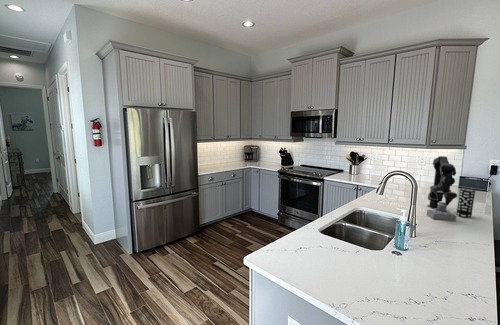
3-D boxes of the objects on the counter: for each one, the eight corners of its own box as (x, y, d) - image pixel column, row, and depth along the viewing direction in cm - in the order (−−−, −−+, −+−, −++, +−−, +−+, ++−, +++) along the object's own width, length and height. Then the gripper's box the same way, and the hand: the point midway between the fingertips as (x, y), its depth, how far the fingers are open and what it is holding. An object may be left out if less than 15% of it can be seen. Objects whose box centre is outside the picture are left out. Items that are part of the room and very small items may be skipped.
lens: (443, 211, 174) (444, 202, 173) (447, 214, 169) (448, 204, 168) (435, 211, 175) (436, 201, 174) (439, 213, 170) (440, 203, 169)
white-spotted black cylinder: (474, 218, 172) (478, 191, 169) (462, 218, 172) (466, 191, 169) (464, 214, 180) (468, 188, 177) (453, 214, 180) (456, 188, 178)
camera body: (426, 214, 178) (427, 207, 177) (447, 216, 175) (448, 209, 175) (433, 219, 169) (434, 211, 168) (455, 221, 166) (456, 213, 166)
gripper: (425, 179, 179) (423, 199, 181) (440, 184, 161) (437, 206, 163) (442, 179, 177) (440, 200, 179) (459, 185, 159) (455, 208, 161)
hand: (442, 203), depth 171 cm, fingers open, 9 cm apart
